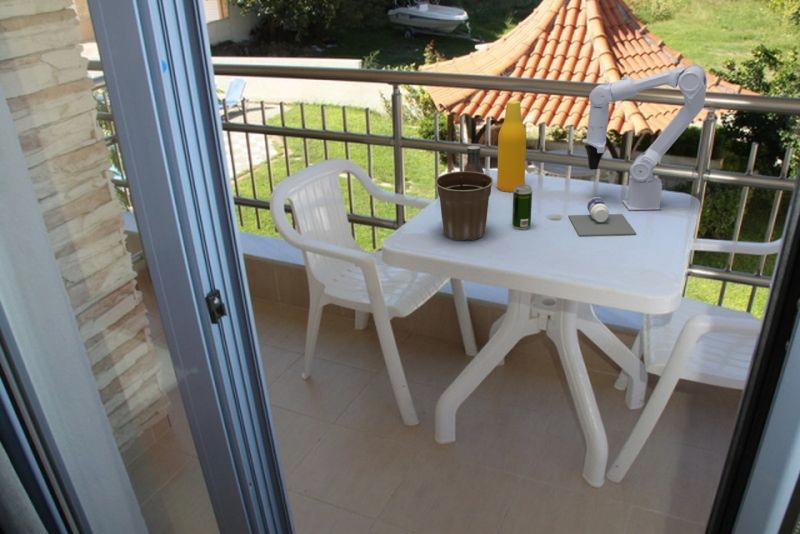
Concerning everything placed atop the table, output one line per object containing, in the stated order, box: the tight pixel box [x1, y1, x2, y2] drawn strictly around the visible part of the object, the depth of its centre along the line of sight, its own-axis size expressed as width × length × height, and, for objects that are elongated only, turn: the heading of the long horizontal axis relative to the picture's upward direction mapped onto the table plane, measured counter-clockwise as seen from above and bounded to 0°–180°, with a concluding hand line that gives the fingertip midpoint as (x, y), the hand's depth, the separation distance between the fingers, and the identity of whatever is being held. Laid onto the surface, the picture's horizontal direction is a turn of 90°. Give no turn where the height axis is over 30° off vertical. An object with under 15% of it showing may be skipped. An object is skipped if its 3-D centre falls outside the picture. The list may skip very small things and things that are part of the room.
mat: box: [568, 213, 637, 237], centre depth 200 cm, size 16×15×1 cm
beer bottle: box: [496, 100, 527, 193], centre depth 226 cm, size 9×9×29 cm
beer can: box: [511, 184, 533, 230], centre depth 199 cm, size 5×5×12 cm
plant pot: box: [434, 170, 494, 242], centre depth 195 cm, size 16×16×16 cm
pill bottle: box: [586, 196, 610, 222], centre depth 203 cm, size 5×5×9 cm
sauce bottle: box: [463, 145, 485, 174], centre depth 212 cm, size 7×6×20 cm
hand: (592, 168), depth 215 cm, fingers closed
